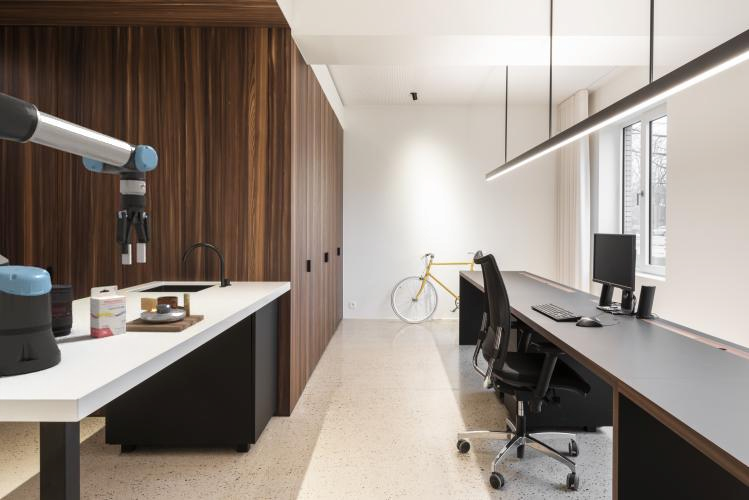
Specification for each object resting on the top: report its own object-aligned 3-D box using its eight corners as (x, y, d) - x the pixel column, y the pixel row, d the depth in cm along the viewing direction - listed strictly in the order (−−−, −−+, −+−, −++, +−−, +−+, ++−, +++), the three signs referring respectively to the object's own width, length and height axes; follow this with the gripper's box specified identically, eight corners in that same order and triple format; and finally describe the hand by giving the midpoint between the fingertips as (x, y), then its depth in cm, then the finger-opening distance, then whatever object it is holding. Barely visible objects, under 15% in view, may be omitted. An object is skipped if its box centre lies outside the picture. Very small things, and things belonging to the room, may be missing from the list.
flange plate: (194, 317, 158) (194, 299, 157) (157, 324, 146) (157, 305, 145) (161, 311, 167) (161, 295, 166) (124, 318, 155) (124, 300, 154)
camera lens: (57, 338, 134) (56, 288, 134) (34, 337, 136) (33, 287, 135) (80, 332, 142) (79, 284, 142) (58, 331, 144) (57, 284, 143)
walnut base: (180, 331, 145) (180, 302, 145) (117, 330, 145) (117, 301, 145) (203, 319, 165) (203, 293, 165) (148, 318, 165) (148, 292, 165)
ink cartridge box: (99, 338, 135) (98, 289, 135) (89, 336, 138) (89, 288, 137) (127, 333, 143) (126, 286, 142) (117, 331, 145) (117, 285, 144)
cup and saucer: (191, 311, 181) (190, 296, 180) (170, 317, 169) (170, 300, 169) (164, 309, 183) (164, 294, 183) (143, 315, 172) (143, 299, 171)
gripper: (123, 191, 141) (124, 265, 142) (161, 196, 161) (162, 261, 162) (101, 191, 142) (102, 265, 143) (141, 196, 162) (142, 260, 163)
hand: (134, 263), depth 153 cm, fingers open, 7 cm apart
